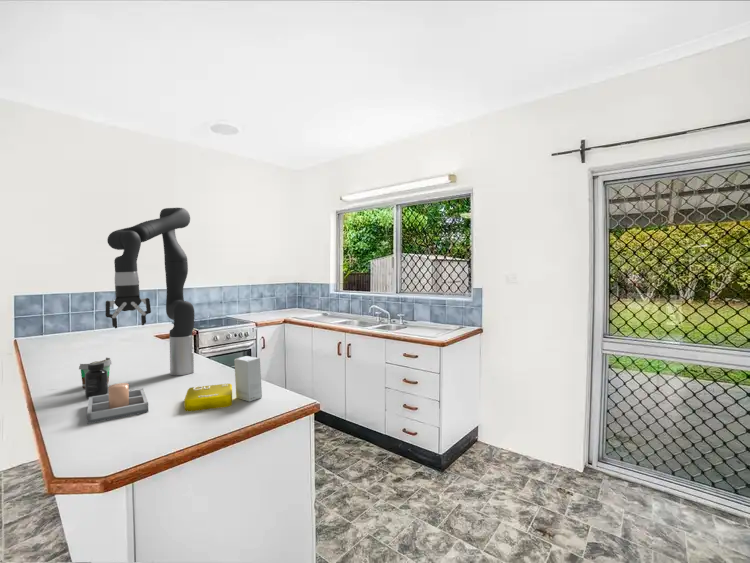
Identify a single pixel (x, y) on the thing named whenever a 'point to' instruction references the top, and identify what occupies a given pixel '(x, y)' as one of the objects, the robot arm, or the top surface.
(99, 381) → the supplement bottle
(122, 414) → the rack
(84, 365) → the food container
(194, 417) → the top surface
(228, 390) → the element tile
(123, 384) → the peach rounded capsule
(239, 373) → the skincare box
